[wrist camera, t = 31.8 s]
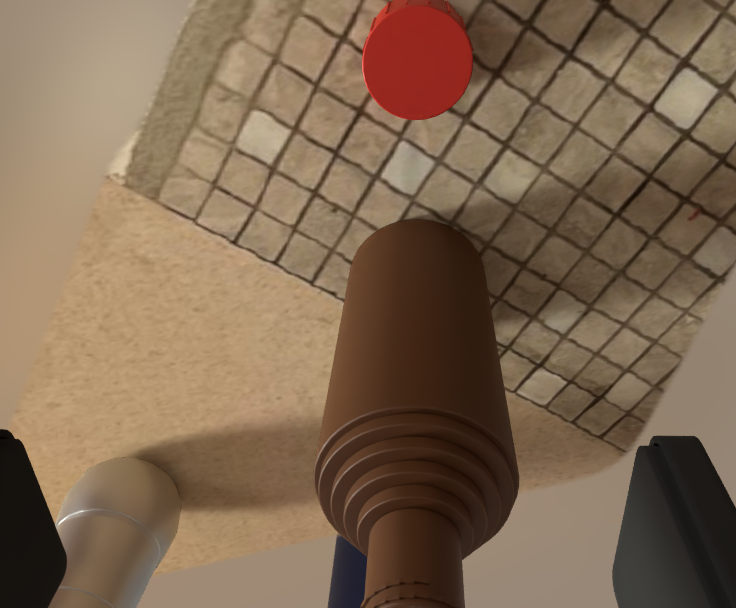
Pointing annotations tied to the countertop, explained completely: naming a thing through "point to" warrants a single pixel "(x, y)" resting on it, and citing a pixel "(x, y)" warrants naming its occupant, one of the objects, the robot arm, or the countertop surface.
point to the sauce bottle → (416, 417)
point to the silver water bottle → (115, 533)
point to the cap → (417, 58)
